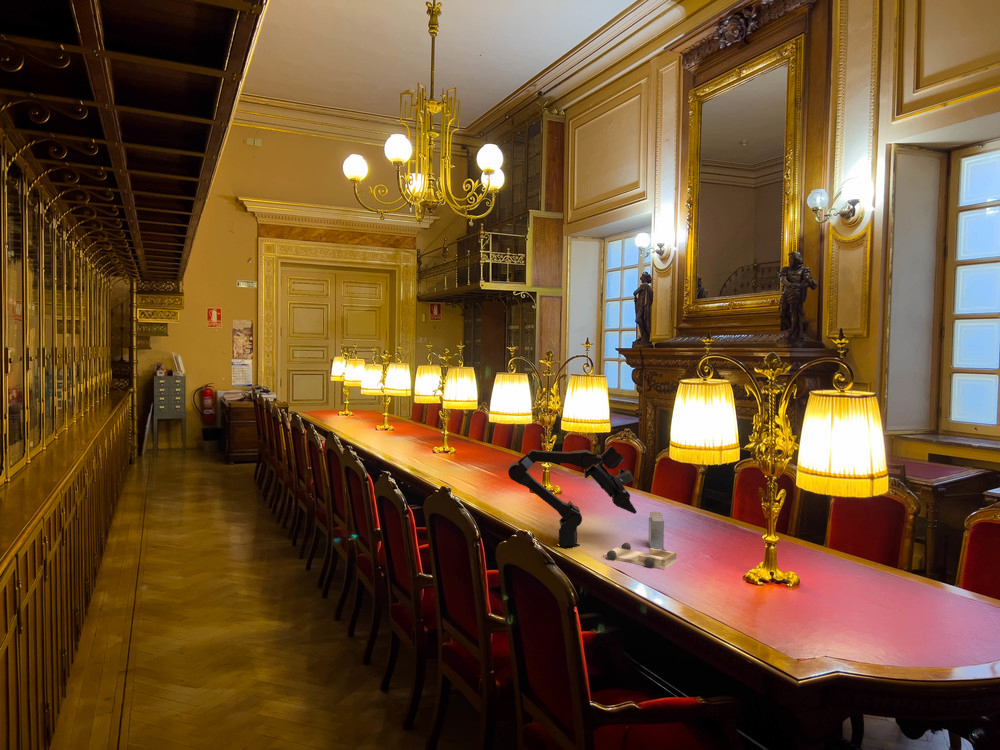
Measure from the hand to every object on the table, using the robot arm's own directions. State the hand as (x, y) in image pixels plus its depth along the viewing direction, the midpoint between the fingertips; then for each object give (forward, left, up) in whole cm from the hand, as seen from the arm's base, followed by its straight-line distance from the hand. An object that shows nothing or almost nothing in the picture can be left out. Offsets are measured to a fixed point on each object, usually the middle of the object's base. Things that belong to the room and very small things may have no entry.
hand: (633, 509), depth 244 cm
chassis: (-11, -11, -13) cm, 20 cm away
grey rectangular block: (+5, -6, -13) cm, 15 cm away
